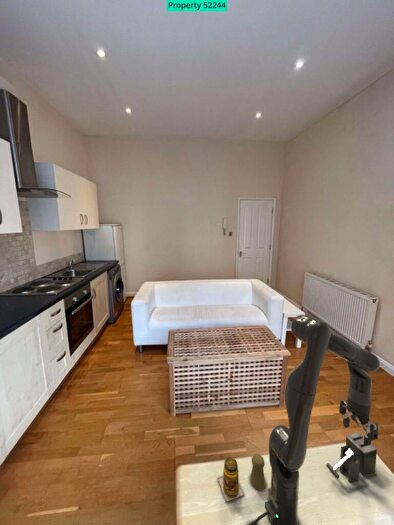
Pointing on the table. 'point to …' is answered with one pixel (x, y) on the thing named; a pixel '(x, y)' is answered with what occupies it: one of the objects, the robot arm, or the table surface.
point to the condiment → (230, 480)
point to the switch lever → (340, 463)
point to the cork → (257, 472)
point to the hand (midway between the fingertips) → (356, 435)
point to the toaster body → (363, 453)
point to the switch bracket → (350, 465)
